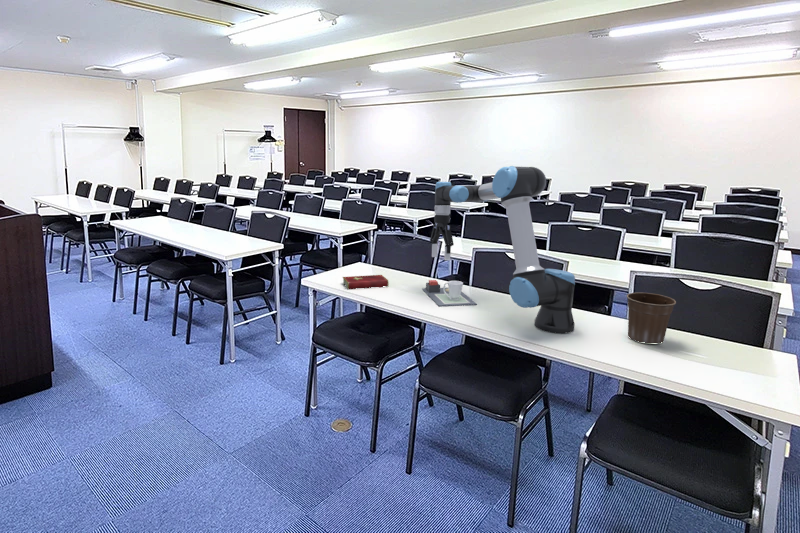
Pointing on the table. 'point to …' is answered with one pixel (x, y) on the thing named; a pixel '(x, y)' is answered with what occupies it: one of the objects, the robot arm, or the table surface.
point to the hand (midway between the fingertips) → (440, 258)
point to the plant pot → (648, 316)
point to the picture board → (443, 300)
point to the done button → (433, 282)
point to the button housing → (432, 288)
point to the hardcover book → (365, 281)
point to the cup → (454, 289)
